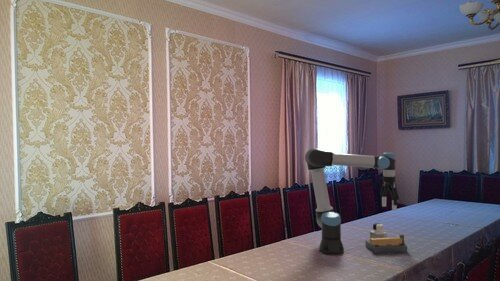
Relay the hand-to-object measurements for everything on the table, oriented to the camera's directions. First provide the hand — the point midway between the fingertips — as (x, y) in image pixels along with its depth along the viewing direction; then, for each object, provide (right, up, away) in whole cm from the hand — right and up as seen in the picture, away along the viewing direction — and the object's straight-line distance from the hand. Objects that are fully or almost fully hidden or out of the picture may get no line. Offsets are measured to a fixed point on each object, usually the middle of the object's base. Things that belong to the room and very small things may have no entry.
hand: (389, 208), depth 228 cm
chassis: (-6, -24, -11) cm, 27 cm away
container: (-6, -24, +3) cm, 25 cm away
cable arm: (-7, -20, -14) cm, 25 cm away
